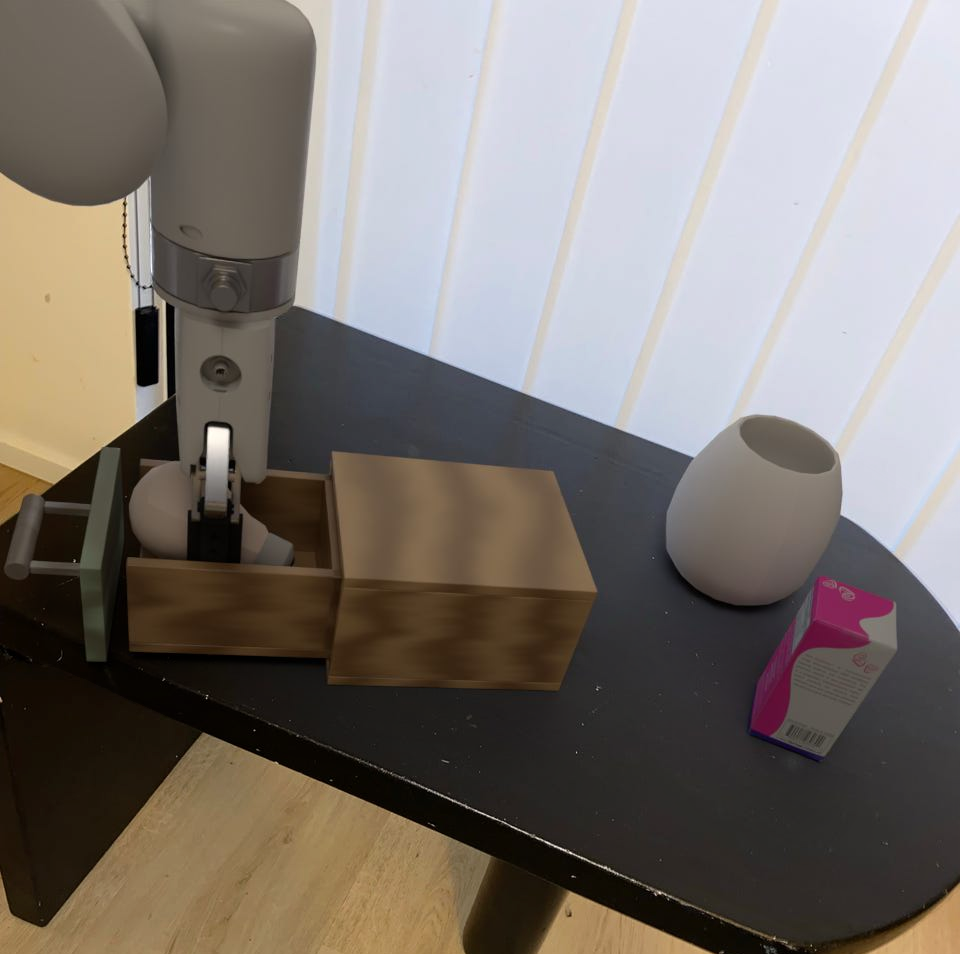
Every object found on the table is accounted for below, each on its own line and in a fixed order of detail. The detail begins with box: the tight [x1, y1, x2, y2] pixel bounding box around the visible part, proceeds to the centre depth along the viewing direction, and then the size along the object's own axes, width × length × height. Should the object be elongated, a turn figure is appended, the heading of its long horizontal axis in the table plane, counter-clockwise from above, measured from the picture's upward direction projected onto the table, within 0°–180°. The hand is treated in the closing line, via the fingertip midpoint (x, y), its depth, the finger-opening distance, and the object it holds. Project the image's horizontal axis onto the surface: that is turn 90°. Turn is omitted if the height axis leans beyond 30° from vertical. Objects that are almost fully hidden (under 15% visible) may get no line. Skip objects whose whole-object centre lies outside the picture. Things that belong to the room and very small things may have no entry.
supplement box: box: [747, 574, 898, 763], centre depth 69 cm, size 6×6×12 cm
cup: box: [665, 413, 844, 606], centre depth 81 cm, size 13×13×14 cm
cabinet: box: [324, 450, 598, 692], centre depth 70 cm, size 17×14×10 cm
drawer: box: [3, 446, 342, 663], centre depth 65 cm, size 20×12×8 cm, turn 99°
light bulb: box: [128, 460, 295, 567], centre depth 63 cm, size 7×7×11 cm
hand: (215, 527), depth 64 cm, fingers closed on light bulb, 6 cm apart
